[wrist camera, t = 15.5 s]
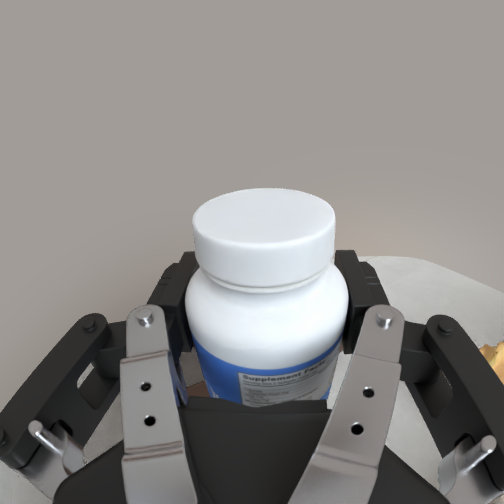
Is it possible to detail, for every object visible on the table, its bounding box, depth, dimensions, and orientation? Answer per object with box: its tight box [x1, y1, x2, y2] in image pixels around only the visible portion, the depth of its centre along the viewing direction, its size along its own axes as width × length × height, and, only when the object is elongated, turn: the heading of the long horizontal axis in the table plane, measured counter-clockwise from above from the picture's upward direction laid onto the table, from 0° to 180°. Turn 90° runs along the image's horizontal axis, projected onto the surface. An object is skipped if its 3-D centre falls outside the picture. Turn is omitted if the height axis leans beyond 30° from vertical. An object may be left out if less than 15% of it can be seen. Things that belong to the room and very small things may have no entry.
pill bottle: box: [185, 188, 349, 407], centre depth 11 cm, size 6×5×10 cm
